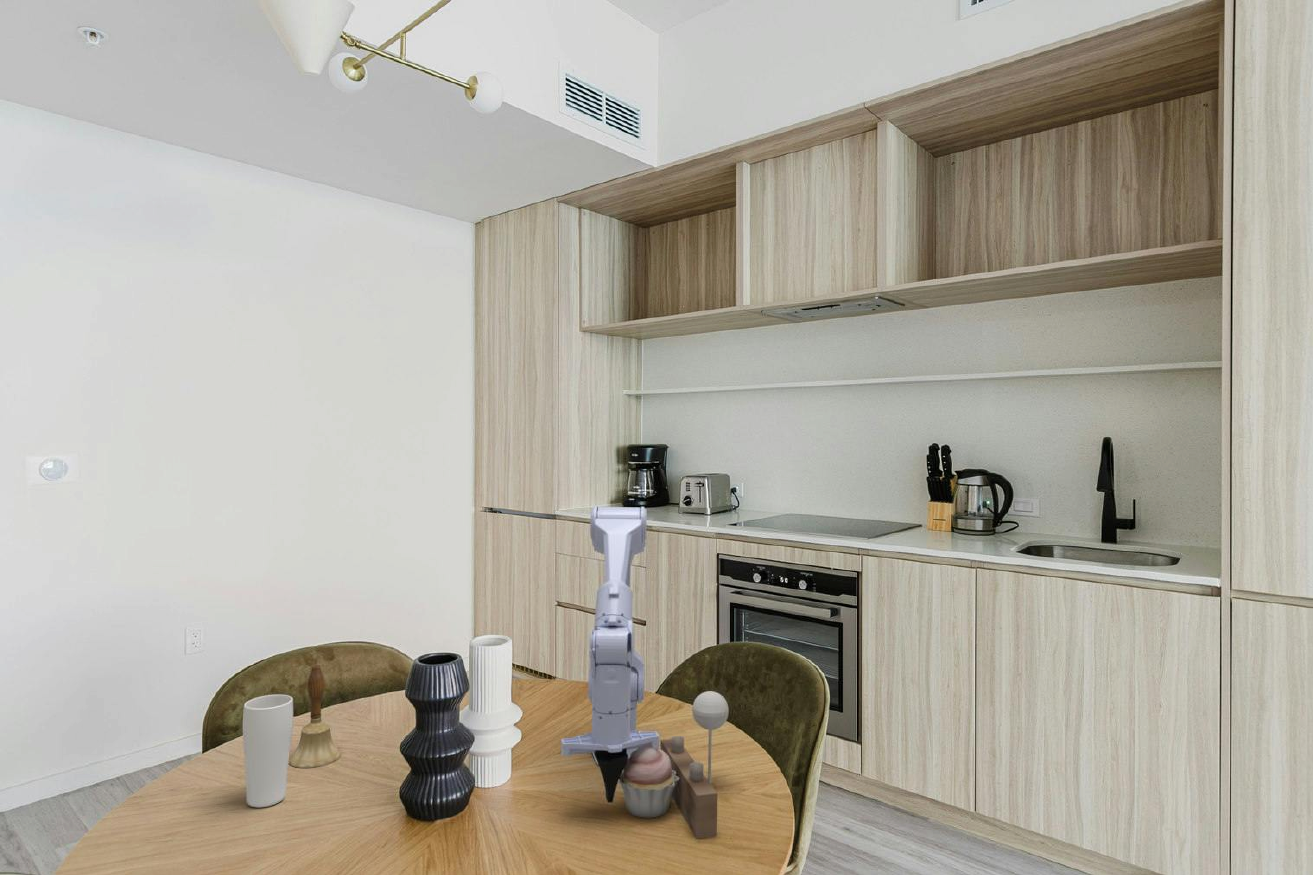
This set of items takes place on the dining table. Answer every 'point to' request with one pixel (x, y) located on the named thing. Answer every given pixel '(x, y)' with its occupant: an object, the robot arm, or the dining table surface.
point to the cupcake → (648, 782)
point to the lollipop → (710, 715)
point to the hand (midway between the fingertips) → (609, 799)
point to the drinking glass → (267, 748)
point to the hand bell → (315, 731)
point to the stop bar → (692, 790)
